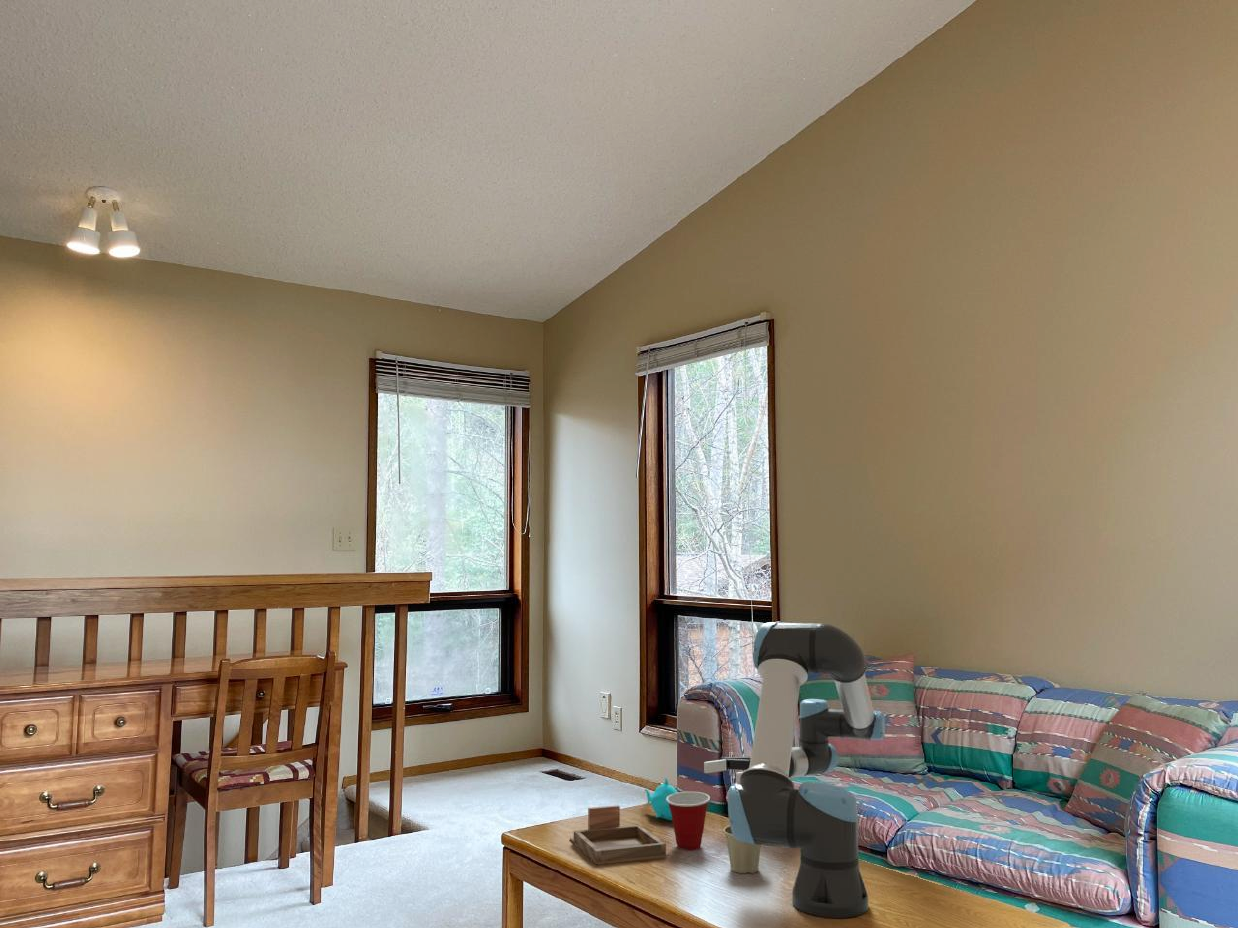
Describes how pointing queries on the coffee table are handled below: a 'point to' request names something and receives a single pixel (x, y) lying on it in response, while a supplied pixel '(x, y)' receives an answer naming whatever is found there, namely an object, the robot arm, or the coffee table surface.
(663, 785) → the toy shark
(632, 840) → the cup dock
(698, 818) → the plastic cup
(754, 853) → the flower pot
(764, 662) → the robot arm
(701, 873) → the coffee table surface
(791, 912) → the coffee table surface
